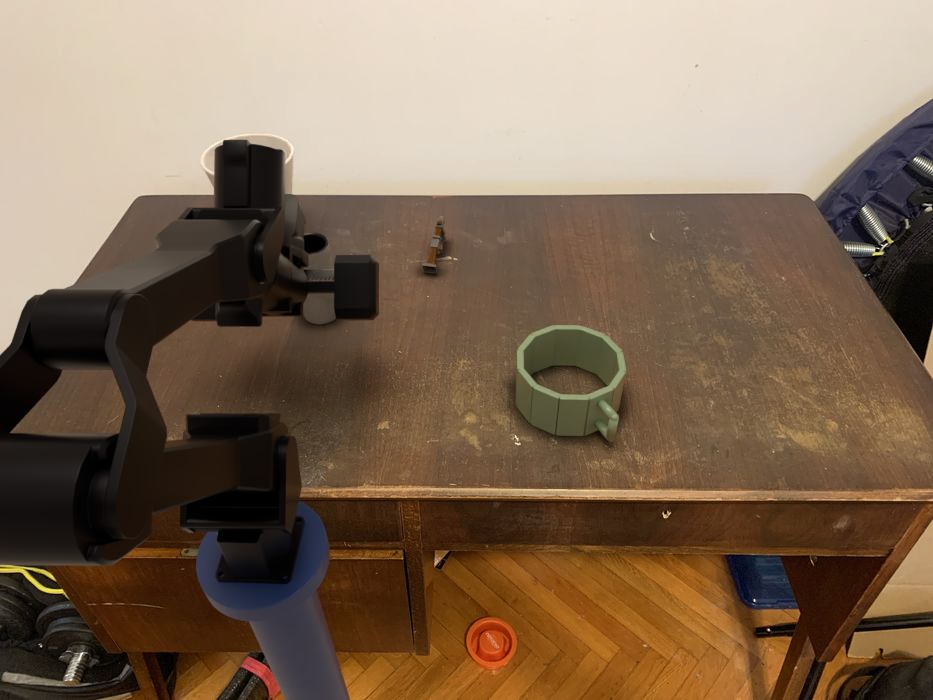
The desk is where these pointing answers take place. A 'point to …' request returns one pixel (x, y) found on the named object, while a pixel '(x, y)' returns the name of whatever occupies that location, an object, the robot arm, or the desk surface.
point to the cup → (258, 139)
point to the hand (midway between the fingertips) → (302, 298)
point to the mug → (569, 409)
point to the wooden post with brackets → (435, 246)
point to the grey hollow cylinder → (318, 304)
